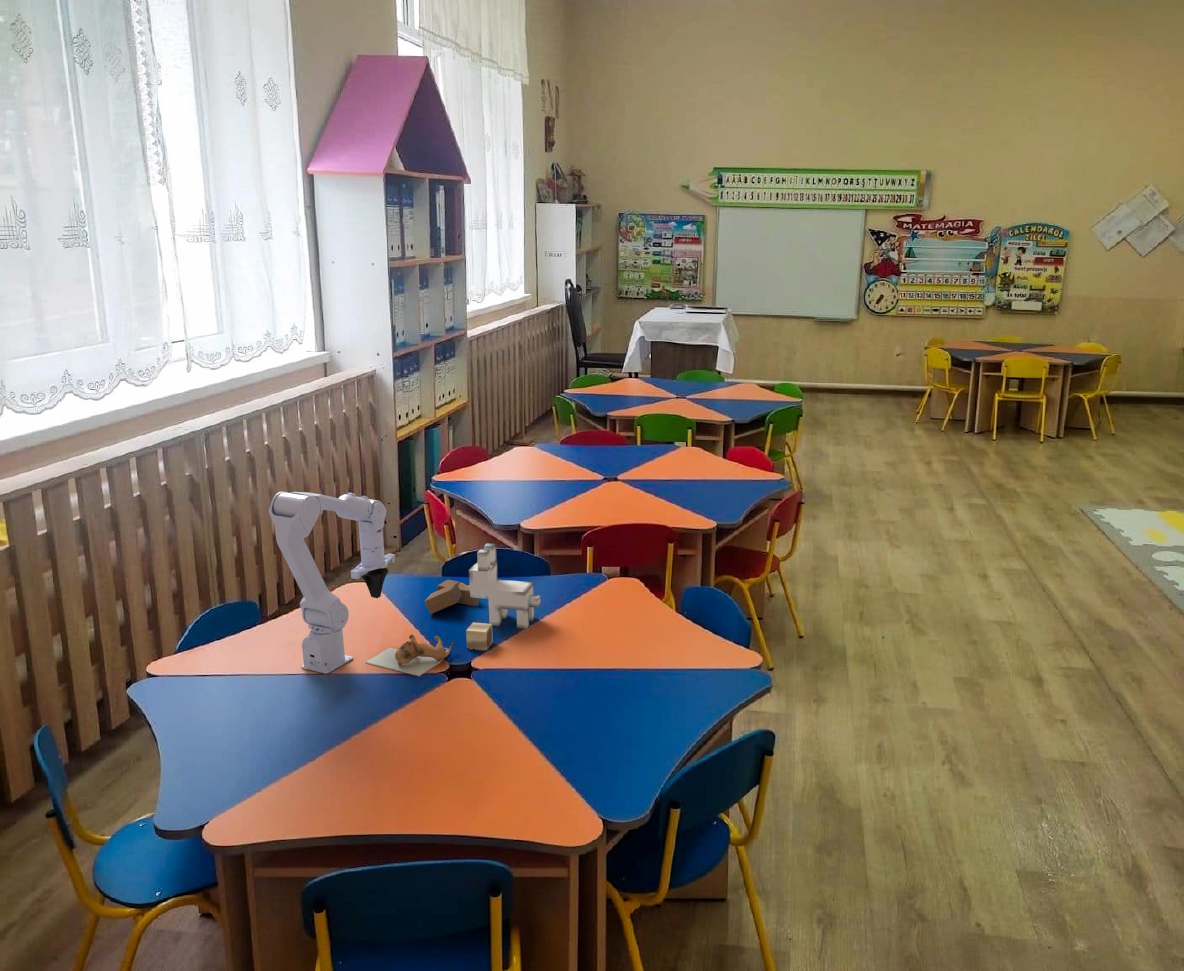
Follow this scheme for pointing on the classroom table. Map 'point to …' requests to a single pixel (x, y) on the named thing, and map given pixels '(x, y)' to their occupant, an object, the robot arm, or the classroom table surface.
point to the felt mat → (414, 666)
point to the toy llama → (501, 590)
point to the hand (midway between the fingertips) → (375, 596)
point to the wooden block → (450, 596)
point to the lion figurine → (420, 651)
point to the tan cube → (479, 636)
